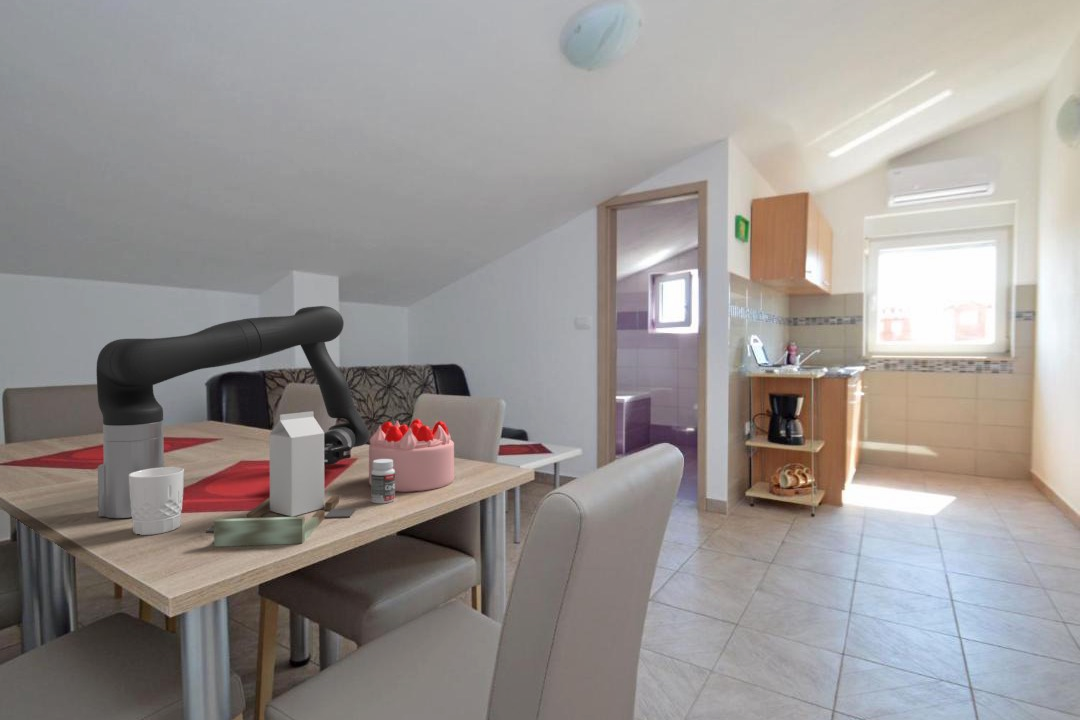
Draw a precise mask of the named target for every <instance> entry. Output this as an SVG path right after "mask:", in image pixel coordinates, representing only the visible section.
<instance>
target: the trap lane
mask: <svg viewBox="0 0 1080 720" xmlns="http://www.w3.org/2000/svg"><path fill="white" fill-rule="evenodd" d="M339 498H340V495H338V494H336V495H331V497H330V498H328V500H327V501H325V502H324V509H325V510H322V509H319V510H316V512H314V514H312V516H310V518H309V519H308V520H307V521H305V518H306V517H305V516H293V517H291V516H278V517H277V516H276V517H275V516H274V517H273V516H272V517H262V516H263V515H265V514H266V513H267V512H268V511H270V496H269V497H268V498H266V499H265V500H264V501H262V502H261V503H260V504H259V505H257V506H255V507H254V508H253V509H251V510H250V511H248V512H247V513H246V514H245V517H244V518H243V517H242V518H240V517H239V518H219V519H218V518H217V519H216V520H215V521H213V526H214V532H213V540H214V543H213V546H214V547H236V546H237V547H238V546H242V545H243V546H264V545H265V546H266V545H269V546H270V545H291V544H292V545H293V544H303V543H304V542H305V541H306V540H307V539H308V538H309V537H310V535H312V533H313V532H314V531H315V529H317V528H318V527H319V525H320V524H321V523H322V522H323V521H324V520H325V519H326V518H325V516H326V514H325V513H326V512H325V511H328V512H329V511H330V510H331V509H335V508H336V506H337V505H338V504H339V501H340V499H339Z"/></svg>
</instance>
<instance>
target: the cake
mask: <svg viewBox="0 0 1080 720" xmlns="http://www.w3.org/2000/svg"><path fill="white" fill-rule="evenodd" d="M369 443H370V445H369V446H368V484H369V485H370V486H371V472H372V470H374V468H373V461H374V460H378V459H392V460H393V467H392V468H393V469H394V470H395V493H397V492H400V493H402V492H403V493H407V492H408V493H410V492H422V491H423V492H425V491H430V490H436V489H440V488H443V487H446V486H448V485H450V484H451V483H452V482H453V480H455V479H454V478H455V442H454V441H453V440H452V439H451V434H450V431H449V429H448V427H447V424H446V423H445V422H444V421H441V420H439V421H438V420H435V422H434V424H433V426H432V428H431V429H430V426H428V425H426V424H423V422H422V420H420V419H418V418H416V419H413V420H412V421H411V423H410V424H409V427H408V425H407V424H400V422H399V420H396V422H395V423H394V425H393V423H392V422H391V421H385V422H383V423H382V424H381V425H379V426H378V429H377V430H376V431H375V432H374V433H373V435H371V436H370V437H369Z"/></svg>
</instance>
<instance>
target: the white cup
mask: <svg viewBox="0 0 1080 720" xmlns="http://www.w3.org/2000/svg"><path fill="white" fill-rule="evenodd" d="M184 477H185V469H184V468H182V467H177V466H174V467H173V466H165V467H162V468H152V469H145V470H140V471H136V472H133V473H130V474H129V491H130V505H131V515H132V517H131V519H132V533H134V534H135V535H137V534H140V535H139V536H151V535H153V536H154V535H158V534H165V533H168V532H171V531H174V530H176V529H178V528H180V526H181V524H182V511H183V500H184V499H183V498H184Z"/></svg>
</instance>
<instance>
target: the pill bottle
mask: <svg viewBox="0 0 1080 720" xmlns="http://www.w3.org/2000/svg"><path fill="white" fill-rule="evenodd" d="M392 467H393V460H392V459H378V460H374V461H373V468H374V470H372V472H371V485H370V487H371V489H370V490H371V491H370V493H371V496H370V497H371V498H370V500H371V502H372V503H375V504H388V503H392V502H394V501H395V500H396V492H395V470H394V469H393V468H392Z"/></svg>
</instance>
